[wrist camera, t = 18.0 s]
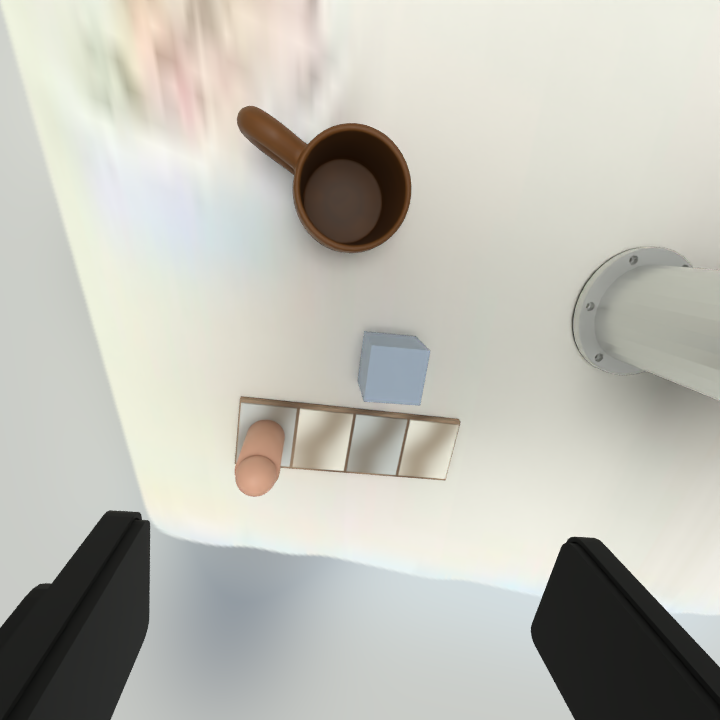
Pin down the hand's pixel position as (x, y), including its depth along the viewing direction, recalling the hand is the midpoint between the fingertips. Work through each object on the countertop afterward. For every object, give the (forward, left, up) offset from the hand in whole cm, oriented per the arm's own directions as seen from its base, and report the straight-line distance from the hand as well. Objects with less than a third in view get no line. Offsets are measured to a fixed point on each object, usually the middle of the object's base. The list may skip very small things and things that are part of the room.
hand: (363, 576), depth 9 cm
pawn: (+4, +12, -28) cm, 30 cm away
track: (-4, +12, -28) cm, 31 cm away
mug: (+2, -11, -28) cm, 31 cm away
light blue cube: (-6, +3, -28) cm, 29 cm away
